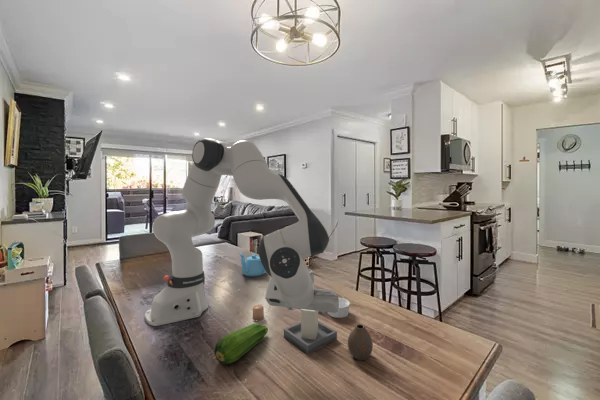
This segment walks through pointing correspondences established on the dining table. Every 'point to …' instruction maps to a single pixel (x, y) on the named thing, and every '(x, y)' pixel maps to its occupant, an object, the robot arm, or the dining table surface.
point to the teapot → (252, 266)
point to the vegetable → (239, 343)
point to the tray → (310, 345)
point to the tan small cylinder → (258, 312)
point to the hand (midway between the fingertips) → (306, 309)
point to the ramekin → (341, 309)
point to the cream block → (309, 324)
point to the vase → (360, 343)
